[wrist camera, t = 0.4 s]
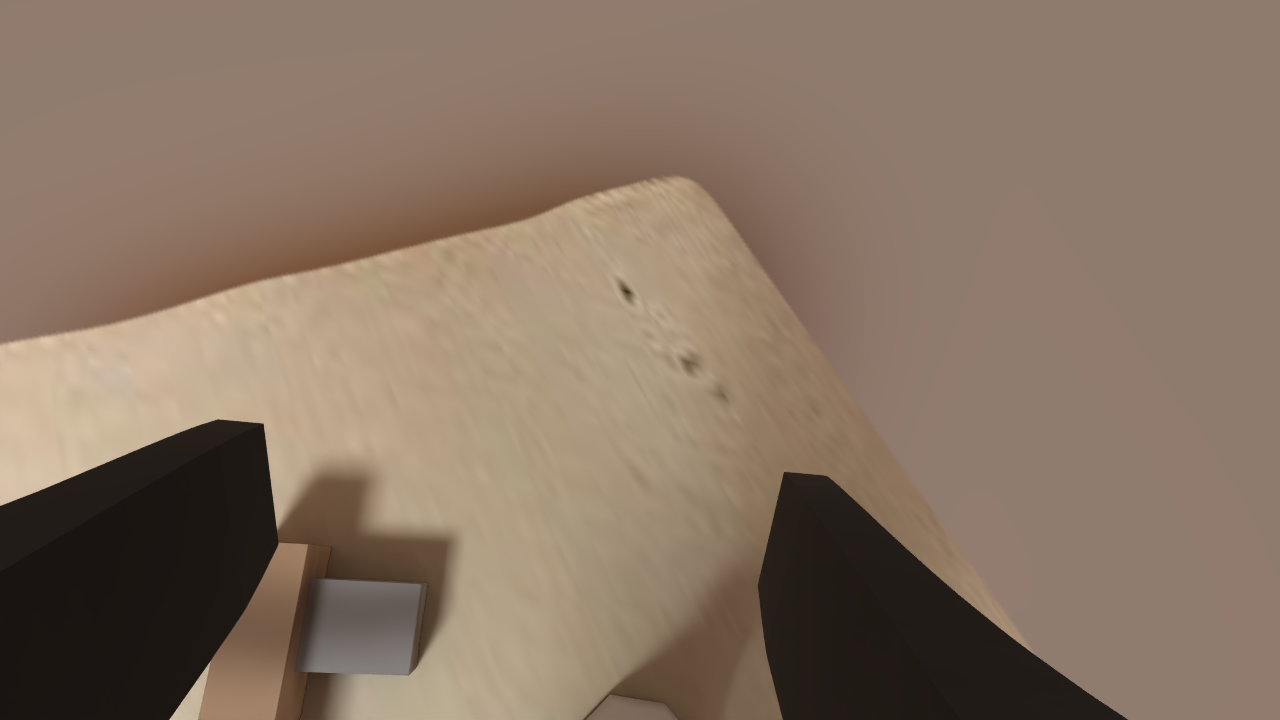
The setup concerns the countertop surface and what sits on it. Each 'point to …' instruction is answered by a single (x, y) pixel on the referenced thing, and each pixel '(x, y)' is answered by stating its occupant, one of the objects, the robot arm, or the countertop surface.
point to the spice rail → (310, 636)
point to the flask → (631, 710)
